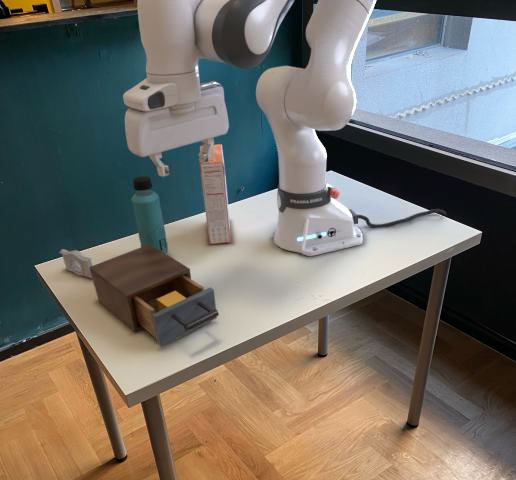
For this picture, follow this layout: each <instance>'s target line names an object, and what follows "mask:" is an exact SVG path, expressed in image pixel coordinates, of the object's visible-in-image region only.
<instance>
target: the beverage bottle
mask: <svg viewBox="0 0 516 480" xmlns="http://www.w3.org/2000/svg"><path fill="white" fill-rule="evenodd" d="M132 182H133V189H134V190H135V191H136V192H135V193H134V195H132V197H131V202H132V207H133V213H134V218H135V222H136V229H137V233H138V238H139V239H138V240H139V243H140V247H143V246H146V245H148V244H150V245H152V246H153V247H155V248H157V249H158V250H160V251H162V252H163V253H165V254H166V255H168V252H169V245H168V244H169V242H168V239H167V234H166V227H165V223H164V217H163V215H164V214H163V209H162V207H161V202H160V196H159V194H158V192H155V191H154V190H152V188H153V183H152V179H151V177H150V176H147V175H140V176H137V177H135V178H133V180H132Z"/></svg>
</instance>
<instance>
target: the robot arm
mask: <svg viewBox="0 0 516 480" xmlns="http://www.w3.org/2000/svg"><path fill="white" fill-rule="evenodd" d="M136 2H137V3H136V5H137V18H138V26H139V34H140V41H141V45H142V47H143V50H144V52H145V57H146V62H145V63H146V64H145V73H146V77H145V78H144V79H143V80H142V81H140V82H139V83H138V84H136V85H135V86H132V88H129V89H128V90H127V91H125V92H124V93H123V96H122V99H123V103H124V105H125V107H128V108H127V110H126V111H125V114H124V130H125V138H126V144H127V148H128V150H129V152H131V153H132V154H133V155H135V156H136V157H137V156H138V157H140V158H145V157H149V159H150V160H151V162H152V163H153V164H154V165H155V167H156V170H157V175H158V176H159V177H161V178H163V177H167V176H169V175H170V171H169V170H170V166H169V165H168V164H166V163H163V162H162V160H161V159H162V158H163V156H162V153H164V152H167V151H170V150H174V149H177V148H181V147H184V146H188V145H192V144H194V143H199V142H201V143H203V144H202V146H203V149H202V152H201V153H200V152H198V161H199V164H200V163H203V164H206V163H209V162H210V153H211V150H212V147H213V145H215V140H214V139H215V138H217V137H220V136H223V135H226V134H227V133H228V131H229V129H230V123H229V116H228V115H229V114H228V110H227V106H226V101H225V90H224V87H223V86H222V84H221V83H220V82H218V81H216V80H209V82H208V81H207V82H201V81H200V70H199V60H200V59H204V60H208V61H211V62H217V63H221V64H227V65H229V66H232V67H235V68H237V69H241V70H251V69H253V68H255V67H257V66H259V65H260V64H261V63H262V62H264V60H265V59H266V58H267V56H268V54H269V53H270V51H271V48H272V46H273V43H274V41H275V38H276V35H277V33H278V30H279V28H280V26H281V24H282V22H283V20H284V18H285V16H286V15H287V14H288V12H289V10H290V9H291V7H292V6H293V4H294V3H295V0H136ZM376 2H377V0H318V1H317V3H316V5H315V7H314V9H313V12H312V14H311V17H310V19H309V21H308V23H307V25H306V28H305V38H306V41H307V44H308V46H309V48H310V56H309V61H308V64H307V65H306V67H305V68H302V67H296V66H290V65H281V66H276V67H270V68H268V69H266V70H265V71H263V73H262V74H261V75H260V77H259V78H258V80H257V83H256V89H255V98H256V99H255V100H256V102H257V105H258V107H259V108H260V110H261V111H262V112H263V114H264V115H265V117H266V119H267V121H268V123H269V126H270V129H271V132H272V135H273V139H274V141H275V146H276V151H277V157H278V185H277V192H276V204H277V209H278V213H277V214H278V215H277V223H276V228H275V233H274V236H273V242H274V244H275V245H276V246H277V247H279V248H281V249H283V250H286V251H289V252H295V253H299V254H301V255H304V256H308V257H313V256H318V255H322V254H327V253H331V252H335V251H339V250H342V249H343V250H344V249H347V248H351V247H355V246H359V245H362V244H363V239H364V238H363V233H362V230H361V229H360V228H359V227H358V226H357V225H358V224H359V219H360V220H363V221H365V223H366V225H367V226H368V227H370V228H372V229H375V228H377V229H378V228H388V227H392V226H396V225H399V224H404V223H407V222H409V221H413V220H414V219H416V218H420V217H423V216H428V215H432V214H440V215H442V216H447V215H448V214H447V212H446V211H445V210H443V209H440V208H435V209H430V210H426V211H421V212H418V213H414V214H412V215H409V216H407V217H405V218H400V219H397V220H393V221H390V222H385V223H379V224H377V223H371V221H370V218H369V217H368V216H365V215H362V214H358V213H357V212H355V211H354V210H353V209H352V208H349V209H348V208H347V207H346V206H345V205H343V204H342V203H340V202H339V201H338V200H337V199H338V198H339V197H340V191H338V189H337V188H336V187H333V186H332V184H330V183H328V182H327V181H326V178H327V160H328V159H327V157H328V155H327V150H326V147H324V145H323V143H322V142H321V140H320V139H319V138H318V136H317V133H316V131H319V132H320V131H321V132H323V131H324V132H325V131H329V132H330V131H339V130H341V129H343V128H344V127H346V125H348V123H349V122H350V121H351V119H352V117H353V114H354V112H355V110H356V103H357V98H356V91H355V88H354V86H353V84H352V80H351V66H352V65H351V64H352V60H353V57H354V54H355V53H354V52H355V51H356V48H357V45H358V43H359V41H360V38H361V36H362V34H363V32H364V30H365V27H366V25H367V23H368V21H369V18H370V16H371V14H372V12H373V10H374V7H375V4H376Z"/></svg>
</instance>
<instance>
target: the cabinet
mask: <svg viewBox="0 0 516 480" xmlns="http://www.w3.org/2000/svg"><path fill="white" fill-rule="evenodd" d="M89 268H90V272H91V275H92V278H91V279H92V282H93V286H94V289H95V293H96V297H97V301H98V302H99V303H100V304H101V305H102V306H103V307H104V308H105V309H107V310H108V311H109V312H110V313H112V314H113V315H114V316H115V317H116V318H118V319H119V320H120V322H122V323H124V324H125V325H126V326H127V327H129V329H130V330H132V331H133V332H135V333H136V332H139V331H140V330H143V329H144V328H143V327H142V326H141V325H140V324H139V323H137V322H136V317H135V313H134V308H133V304H132V299H131V297H134V296H136V295H138V294H141V293H143V292H145V291H147V290H150V289H152V288H154V287H157V286H159V285H161V284H164V283H166V282H168V281H170V280H173V279H175V278H177V277H180V276H182V275H185V276H187V277H188V278H190V279H191V280H192V274H191V268H190V267H188V266H186V265H184V264H183V263H181V262H179V261H178V260H176V259H175V258H173V257H172V256H170V255H168V254H165V253H163V252H162V251H160V250H158V249H157V248H155V247H153V246H152V245H150V244H148V245H146V246H143V247H141V246H140V247H138V248H135V249H133V250H130V251H128V252H125V253H123V254H120V255H117V256H113V257H112V258H109V259H107V260H103V261H102V262H99V263H96V264H94V265H93V266H91V267H89Z"/></svg>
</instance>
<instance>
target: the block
mask: <svg viewBox="0 0 516 480" xmlns="http://www.w3.org/2000/svg"><path fill="white" fill-rule="evenodd" d="M184 299H186V298H185V297H184V296H182V295H181V294H179V293H178V292H176V291H173V292H171V293H169V294H167V295H164V296H162V297H160V298H158V299H157V304H158V309H159V311H160V310H162V309H165V308H167V307H169V306H171V305H173V304H175V303H178V302H180V301H182V300H184Z"/></svg>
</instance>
